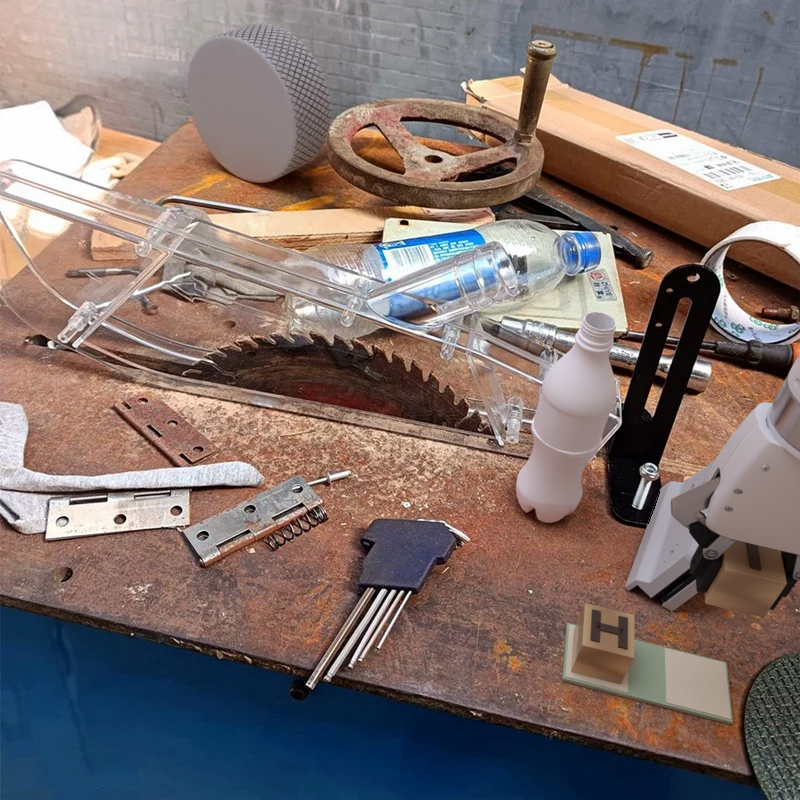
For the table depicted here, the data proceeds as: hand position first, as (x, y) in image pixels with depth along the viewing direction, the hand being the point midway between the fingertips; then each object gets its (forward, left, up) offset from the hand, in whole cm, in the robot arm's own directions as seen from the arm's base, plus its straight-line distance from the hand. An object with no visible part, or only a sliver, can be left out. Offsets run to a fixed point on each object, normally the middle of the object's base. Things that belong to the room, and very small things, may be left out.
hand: (733, 585), depth 61 cm
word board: (+3, +1, -14) cm, 14 cm away
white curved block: (-1, -15, -14) cm, 21 cm away
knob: (+74, -85, -14) cm, 114 cm away
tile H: (+8, +1, -13) cm, 15 cm away
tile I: (0, 0, 0) cm, 0 cm away
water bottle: (+14, -17, -14) cm, 26 cm away
